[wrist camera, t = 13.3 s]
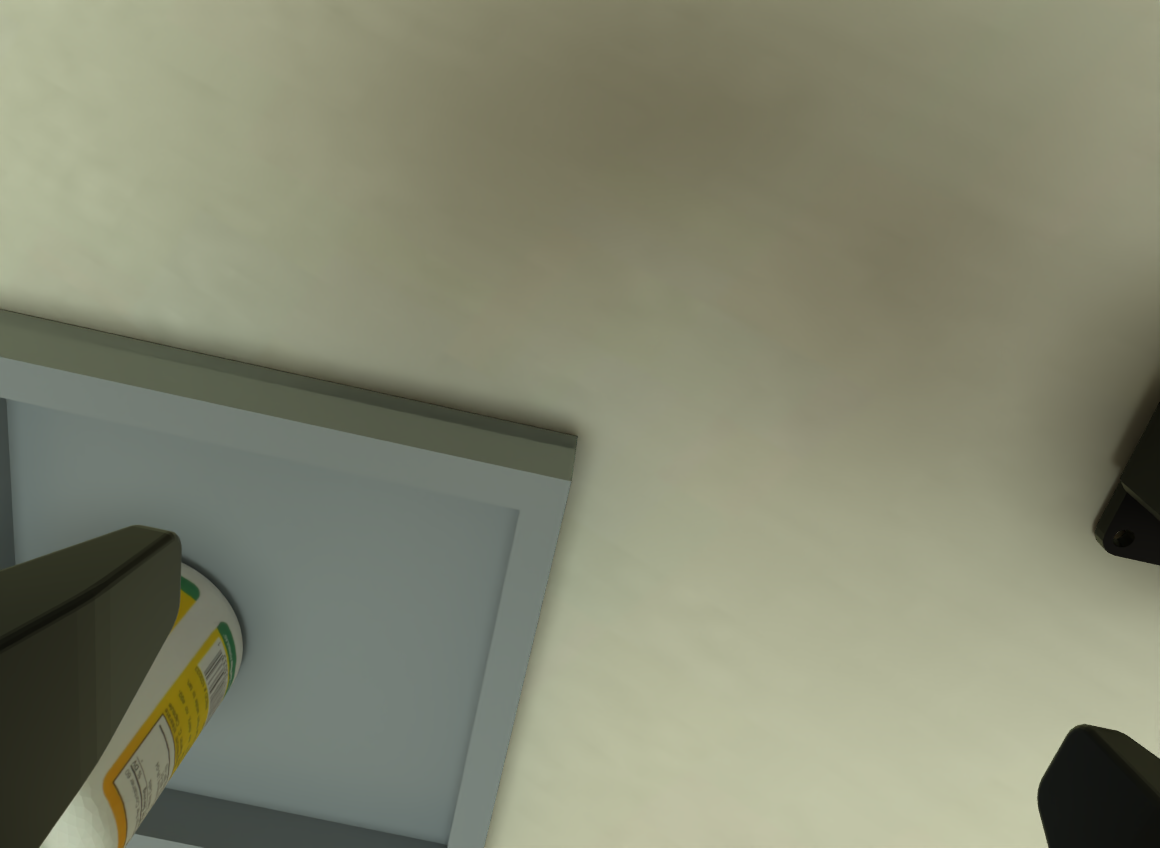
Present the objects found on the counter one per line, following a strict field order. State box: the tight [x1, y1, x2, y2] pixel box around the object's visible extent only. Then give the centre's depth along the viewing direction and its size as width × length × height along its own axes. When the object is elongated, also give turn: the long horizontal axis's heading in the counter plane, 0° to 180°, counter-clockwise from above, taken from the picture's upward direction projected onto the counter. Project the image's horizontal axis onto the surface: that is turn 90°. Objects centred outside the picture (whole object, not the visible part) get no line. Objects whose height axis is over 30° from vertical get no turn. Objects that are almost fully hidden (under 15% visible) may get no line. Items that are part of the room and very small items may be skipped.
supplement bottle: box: [40, 562, 243, 848], centre depth 19 cm, size 5×5×10 cm
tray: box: [0, 310, 578, 848], centre depth 23 cm, size 15×15×2 cm
